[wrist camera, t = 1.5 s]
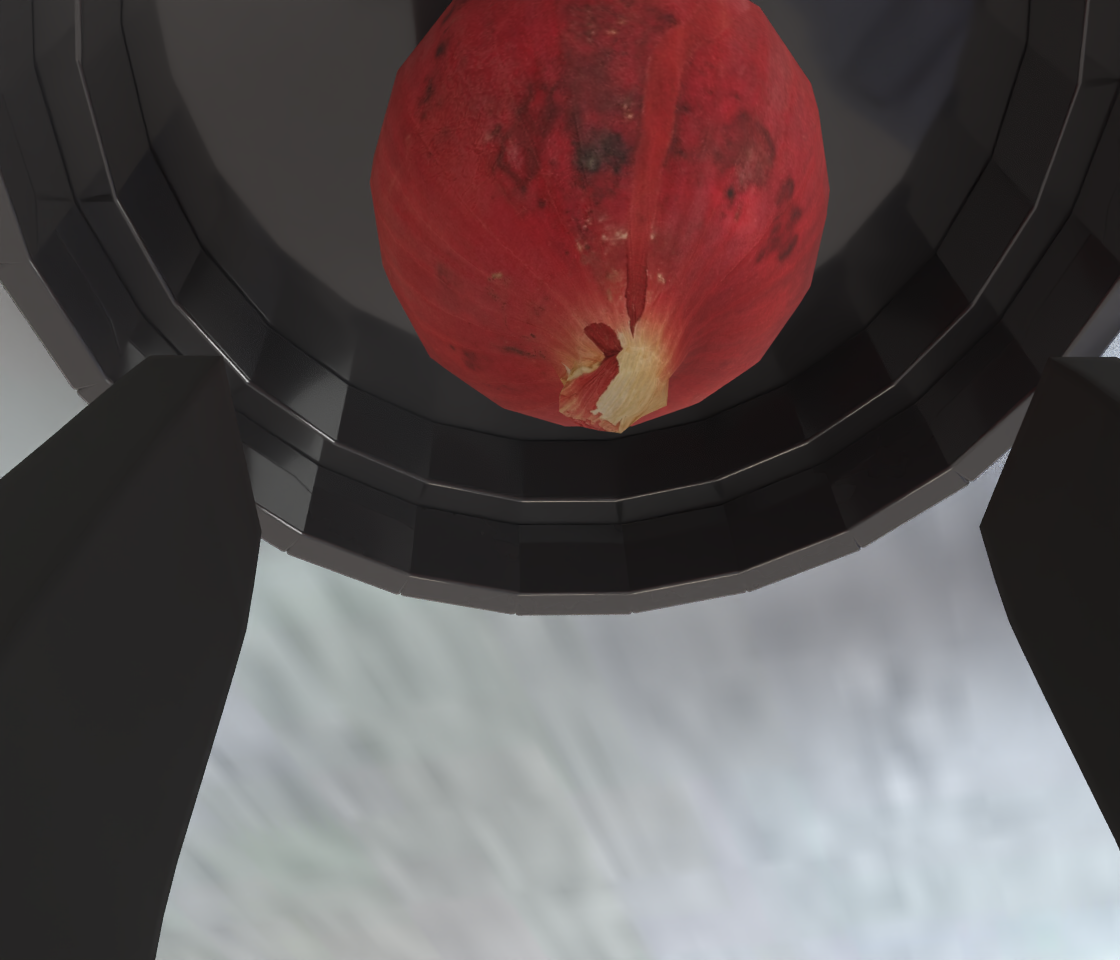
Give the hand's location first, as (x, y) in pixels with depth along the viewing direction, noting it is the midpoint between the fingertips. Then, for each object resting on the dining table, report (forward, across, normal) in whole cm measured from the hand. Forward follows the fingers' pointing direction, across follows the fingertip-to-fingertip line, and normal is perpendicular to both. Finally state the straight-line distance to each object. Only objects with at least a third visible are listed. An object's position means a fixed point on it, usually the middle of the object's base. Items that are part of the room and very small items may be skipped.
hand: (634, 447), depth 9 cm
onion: (+9, 0, 0) cm, 9 cm away
